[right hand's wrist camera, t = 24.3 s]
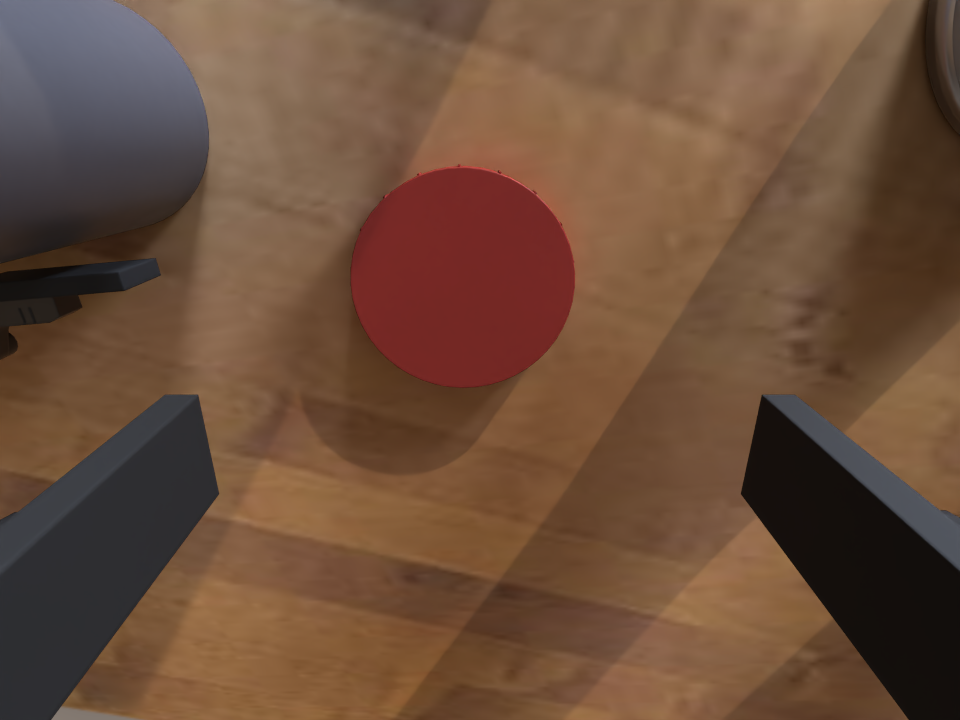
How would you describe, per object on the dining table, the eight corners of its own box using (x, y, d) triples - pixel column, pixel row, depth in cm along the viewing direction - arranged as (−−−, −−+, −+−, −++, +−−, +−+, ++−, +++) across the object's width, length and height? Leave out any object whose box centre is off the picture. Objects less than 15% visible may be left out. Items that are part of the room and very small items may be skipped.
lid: (527, 127, 26) (531, 126, 25) (595, 335, 30) (602, 346, 29) (318, 215, 28) (308, 219, 26) (410, 403, 32) (407, 417, 30)
